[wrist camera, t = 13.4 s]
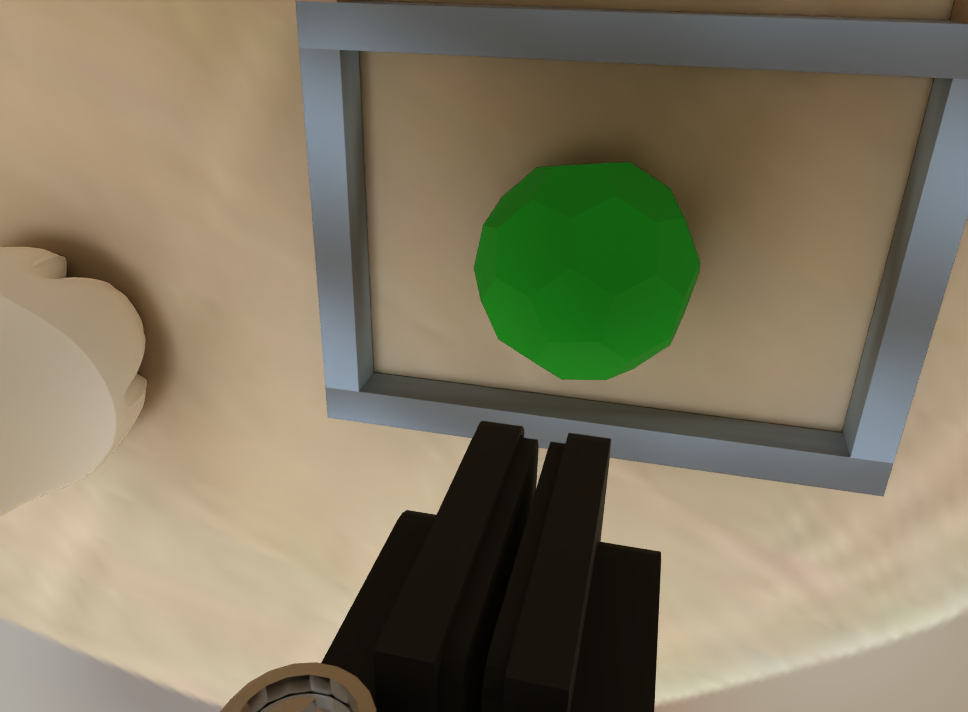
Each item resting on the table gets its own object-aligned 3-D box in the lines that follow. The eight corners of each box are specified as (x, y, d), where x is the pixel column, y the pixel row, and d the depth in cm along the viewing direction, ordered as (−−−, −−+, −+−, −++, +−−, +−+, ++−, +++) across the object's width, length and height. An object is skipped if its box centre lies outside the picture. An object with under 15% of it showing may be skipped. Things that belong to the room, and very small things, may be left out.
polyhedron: (467, 261, 21) (412, 334, 17) (565, 98, 19) (530, 136, 15) (623, 361, 21) (608, 456, 17) (740, 212, 19) (754, 281, 15)
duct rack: (277, -596, 15) (246, -640, 14) (1214, -709, 12) (1265, -776, 11) (343, 398, 24) (327, 417, 23) (873, 469, 21) (883, 496, 20)
